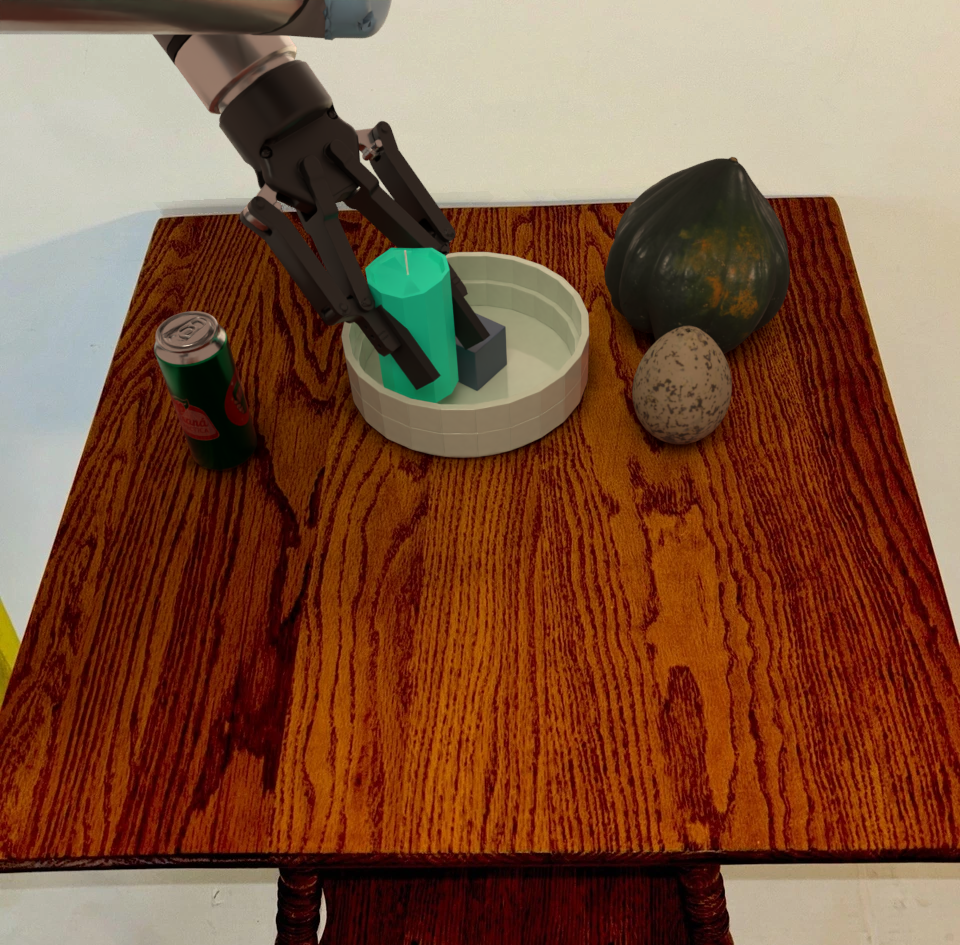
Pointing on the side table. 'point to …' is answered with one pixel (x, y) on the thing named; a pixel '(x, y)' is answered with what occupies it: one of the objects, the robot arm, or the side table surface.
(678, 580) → the side table surface
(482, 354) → the block
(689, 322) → the squash
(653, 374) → the decorative egg
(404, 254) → the candle
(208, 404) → the soda can
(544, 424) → the bowl
